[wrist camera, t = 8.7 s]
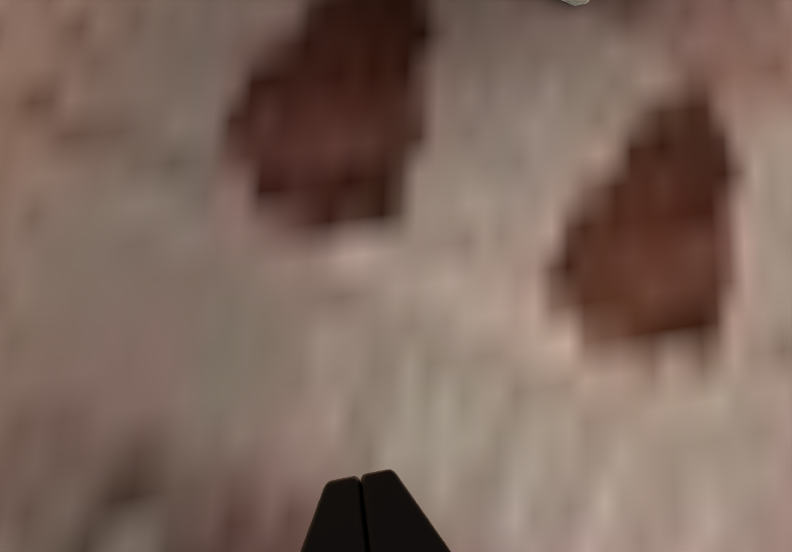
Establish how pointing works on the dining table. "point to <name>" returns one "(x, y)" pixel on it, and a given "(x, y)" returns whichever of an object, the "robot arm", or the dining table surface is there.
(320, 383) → the dining table surface
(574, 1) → the medicine box
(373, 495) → the robot arm
